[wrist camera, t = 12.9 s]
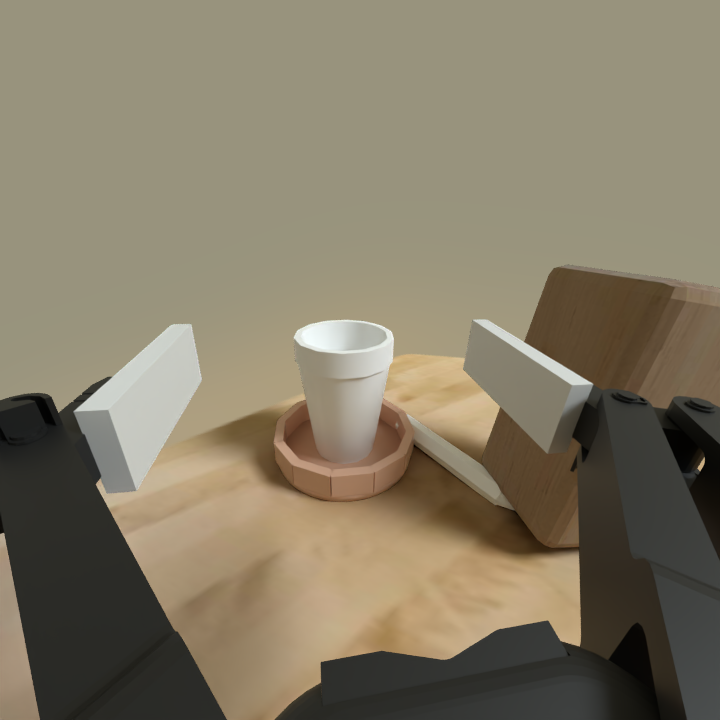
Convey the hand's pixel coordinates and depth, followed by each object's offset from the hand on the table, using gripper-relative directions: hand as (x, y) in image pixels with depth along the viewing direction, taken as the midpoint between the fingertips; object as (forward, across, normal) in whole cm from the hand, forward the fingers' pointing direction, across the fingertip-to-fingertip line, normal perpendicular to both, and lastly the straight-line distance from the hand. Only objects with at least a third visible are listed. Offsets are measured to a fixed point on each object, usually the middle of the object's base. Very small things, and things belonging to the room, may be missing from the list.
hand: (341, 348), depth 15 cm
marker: (+10, +13, -18) cm, 25 cm away
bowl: (+14, +2, -19) cm, 24 cm away
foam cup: (+14, +2, -18) cm, 23 cm away
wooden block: (+4, +20, -18) cm, 27 cm away
